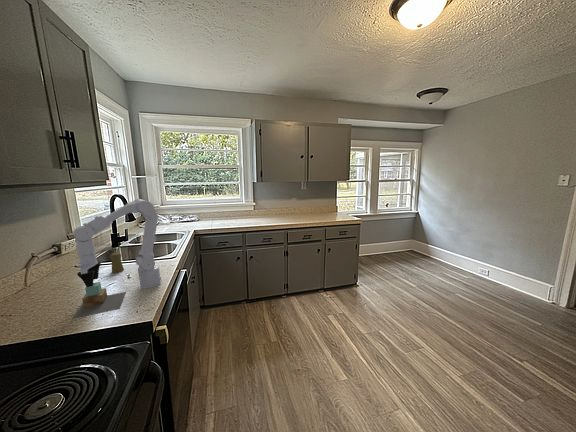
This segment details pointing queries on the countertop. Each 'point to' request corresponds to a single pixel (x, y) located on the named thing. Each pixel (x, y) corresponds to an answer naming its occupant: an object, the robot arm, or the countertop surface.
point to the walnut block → (95, 298)
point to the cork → (116, 263)
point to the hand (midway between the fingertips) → (92, 282)
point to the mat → (102, 306)
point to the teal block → (93, 289)
